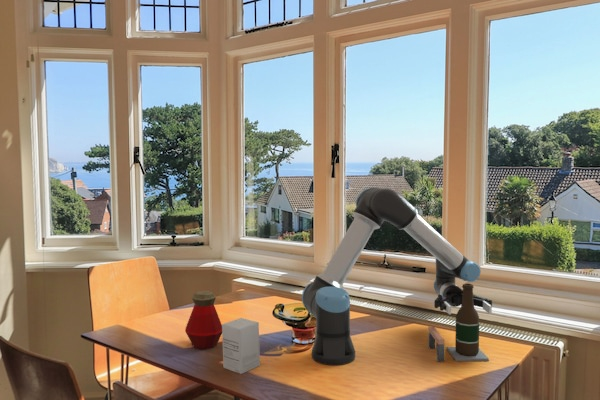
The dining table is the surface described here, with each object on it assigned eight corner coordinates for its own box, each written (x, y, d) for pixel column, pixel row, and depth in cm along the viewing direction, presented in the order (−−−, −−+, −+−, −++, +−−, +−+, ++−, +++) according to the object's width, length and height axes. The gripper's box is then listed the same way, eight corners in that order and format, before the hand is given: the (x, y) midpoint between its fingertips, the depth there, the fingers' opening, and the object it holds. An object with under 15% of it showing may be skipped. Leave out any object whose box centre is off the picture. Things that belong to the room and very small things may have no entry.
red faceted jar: (177, 344, 186) (176, 292, 185) (207, 335, 196) (206, 286, 194) (201, 355, 175) (199, 299, 174) (231, 345, 184) (230, 292, 183)
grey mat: (455, 361, 165) (455, 358, 165) (446, 349, 176) (446, 347, 176) (488, 360, 165) (488, 358, 165) (477, 349, 176) (477, 346, 176)
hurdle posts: (438, 361, 165) (438, 344, 165) (428, 346, 179) (428, 330, 179) (444, 361, 165) (444, 344, 165) (433, 346, 179) (433, 330, 179)
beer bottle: (480, 357, 166) (481, 287, 165) (456, 355, 168) (457, 286, 166) (477, 349, 174) (478, 282, 172) (454, 347, 175) (455, 281, 174)
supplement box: (242, 359, 170) (241, 317, 169) (260, 365, 165) (259, 321, 164) (222, 367, 163) (221, 323, 162) (241, 374, 158) (239, 328, 157)
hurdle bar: (438, 344, 165) (438, 339, 165) (428, 330, 179) (428, 326, 179) (444, 344, 165) (444, 339, 165) (433, 330, 179) (433, 326, 179)
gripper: (485, 303, 188) (507, 320, 166) (419, 304, 188) (433, 321, 167) (485, 284, 187) (507, 298, 166) (419, 285, 188) (433, 299, 167)
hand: (470, 310), depth 167 cm, fingers open, 13 cm apart
